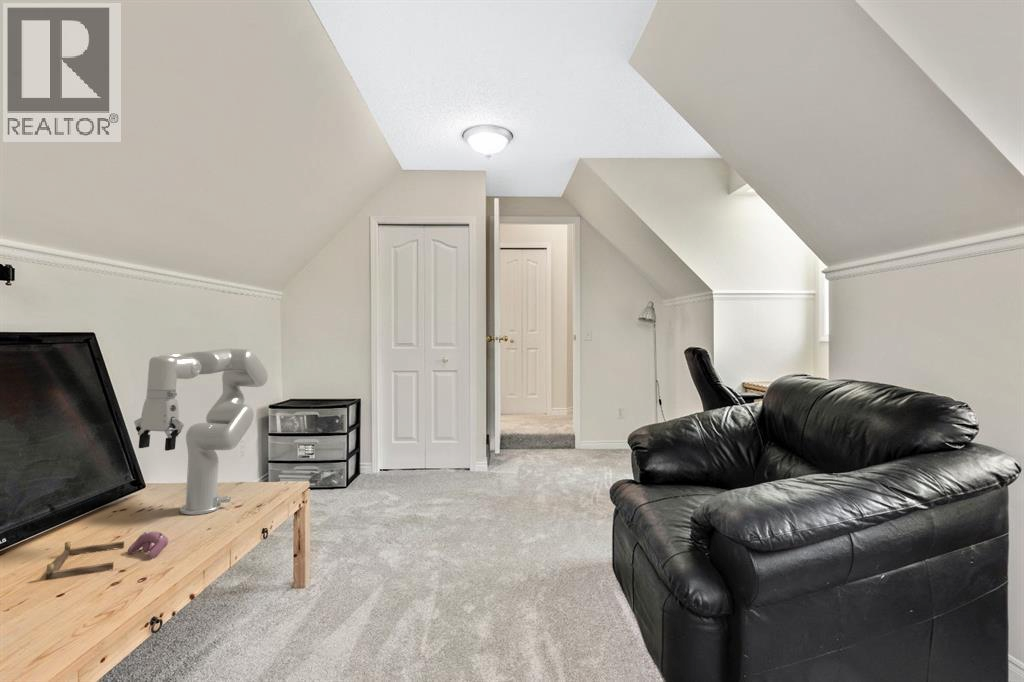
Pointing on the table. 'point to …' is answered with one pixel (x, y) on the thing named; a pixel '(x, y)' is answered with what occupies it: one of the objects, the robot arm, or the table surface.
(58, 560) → the frame
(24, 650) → the table surface
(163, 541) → the video game controller
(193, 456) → the robot arm
